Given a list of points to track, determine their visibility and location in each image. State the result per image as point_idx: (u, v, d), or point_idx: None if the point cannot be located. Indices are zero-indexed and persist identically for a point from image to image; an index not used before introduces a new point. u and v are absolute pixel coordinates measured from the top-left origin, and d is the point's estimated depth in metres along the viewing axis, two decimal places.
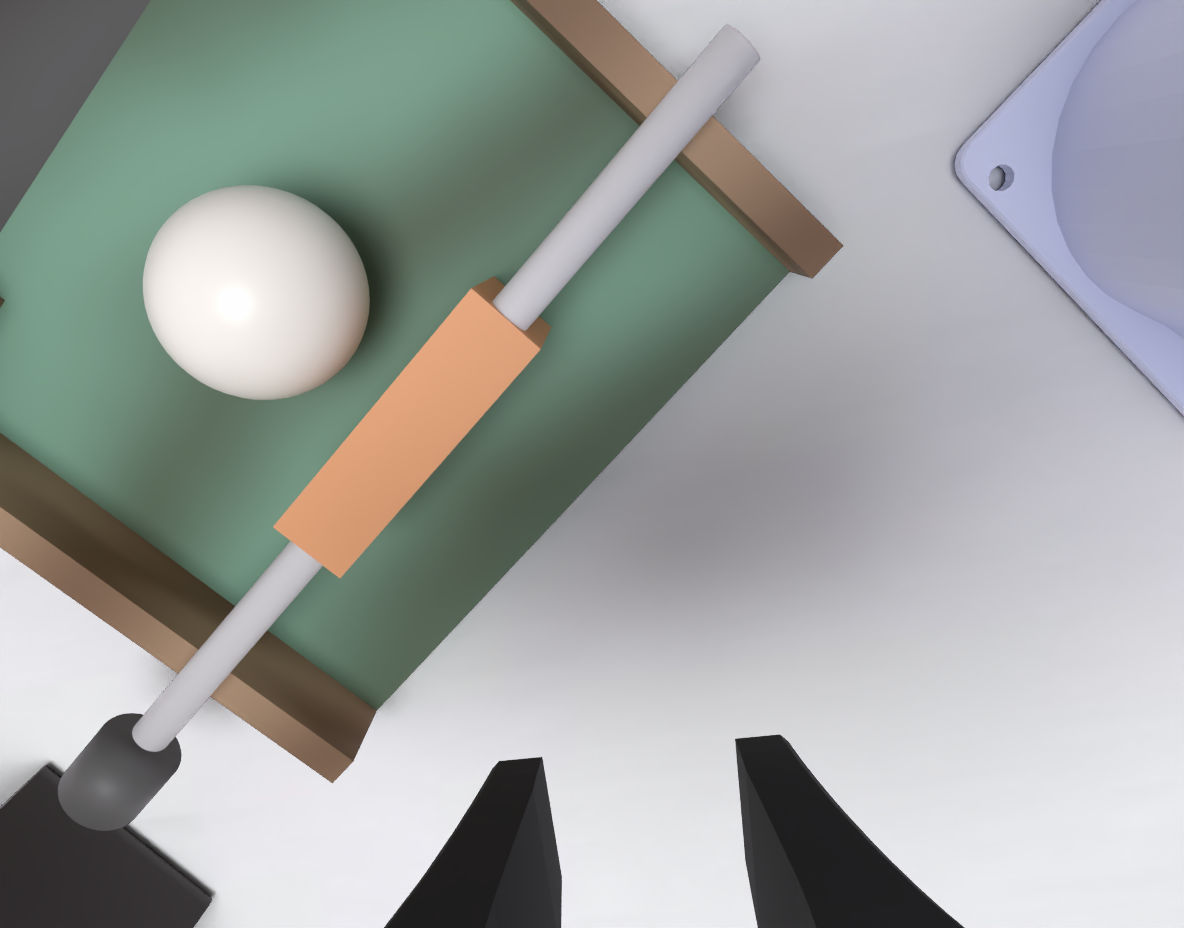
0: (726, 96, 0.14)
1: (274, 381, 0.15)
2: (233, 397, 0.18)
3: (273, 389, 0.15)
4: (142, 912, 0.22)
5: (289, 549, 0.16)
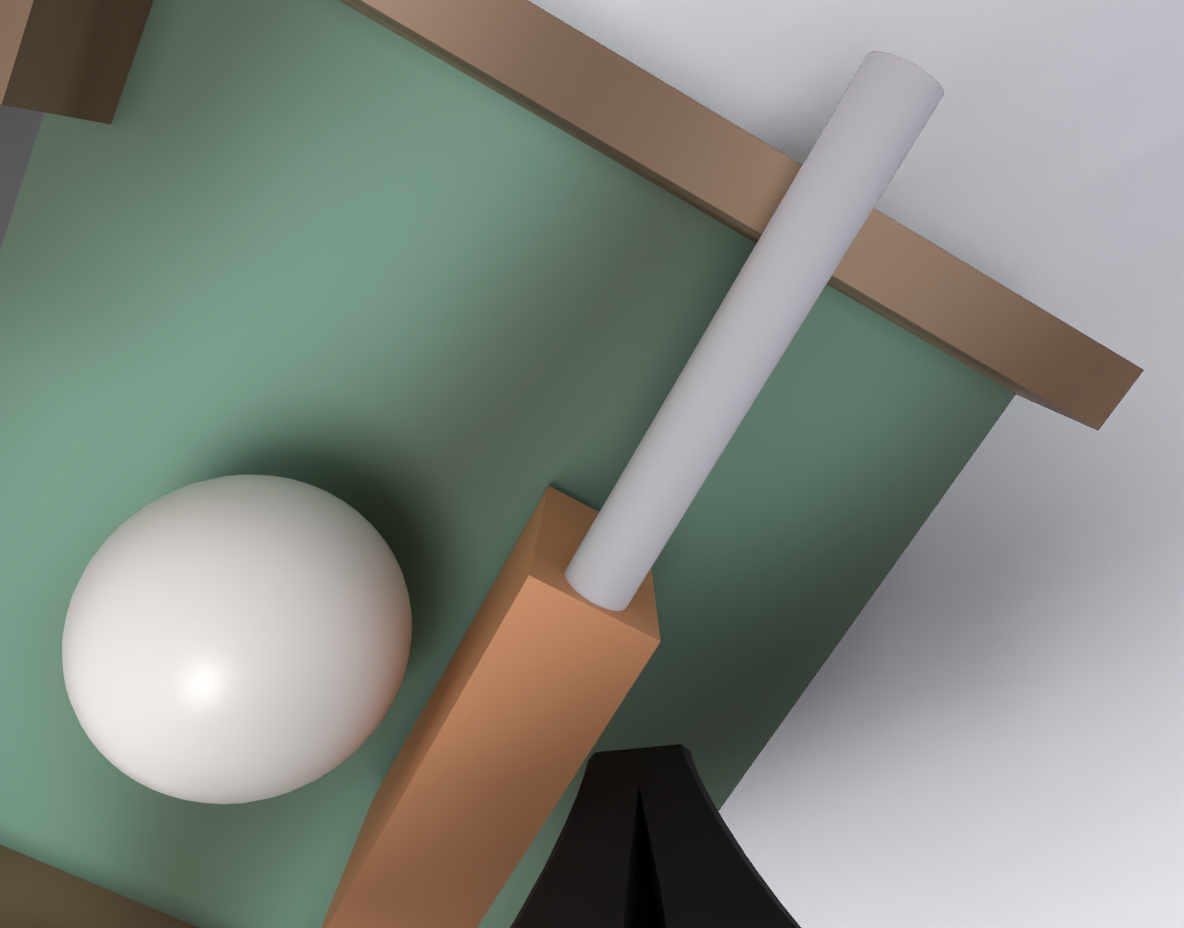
0: (894, 172, 0.08)
1: (293, 784, 0.10)
2: None
3: (296, 787, 0.10)
4: None
5: None
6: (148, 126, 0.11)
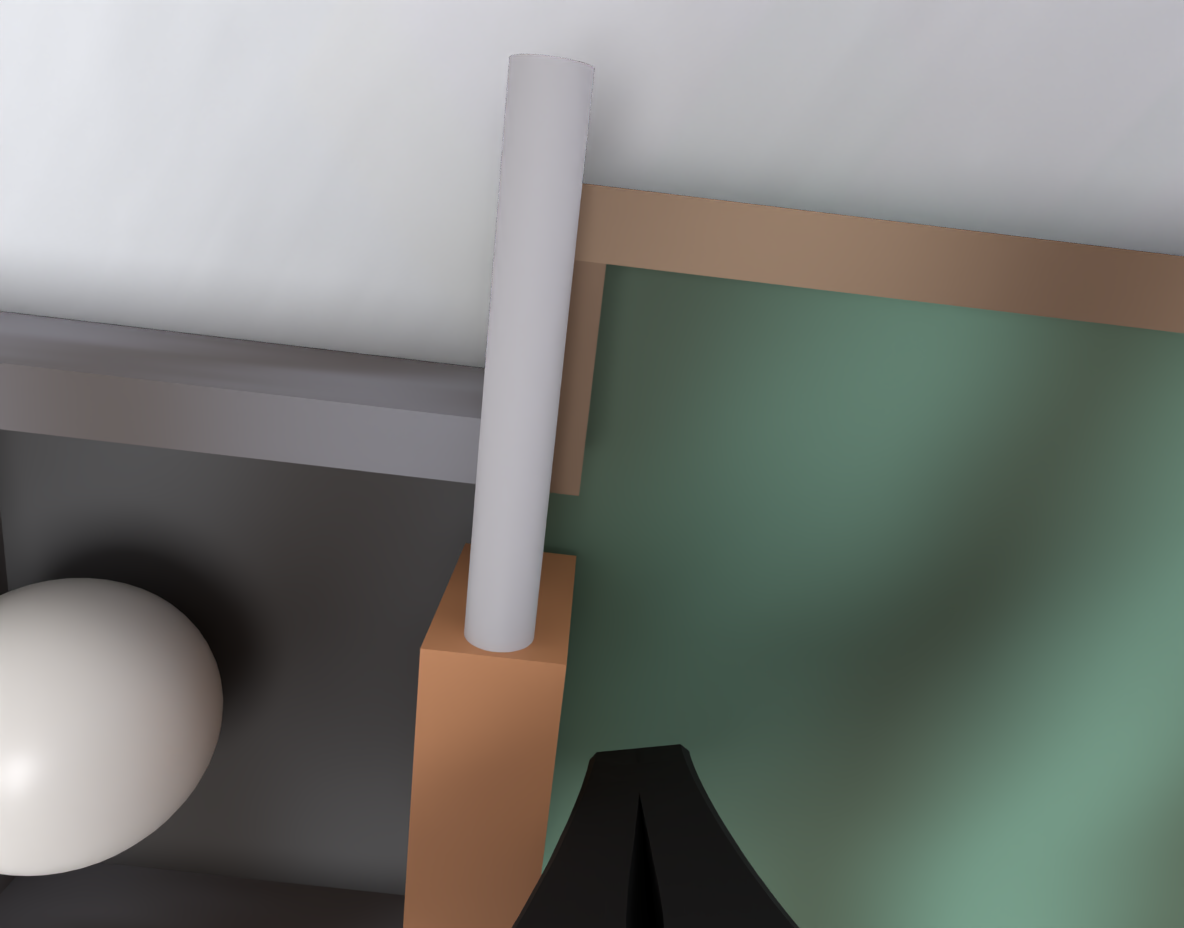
0: (582, 155, 0.08)
1: (175, 799, 0.11)
2: (823, 904, 0.14)
3: (180, 803, 0.12)
4: None
5: None
6: (615, 439, 0.12)
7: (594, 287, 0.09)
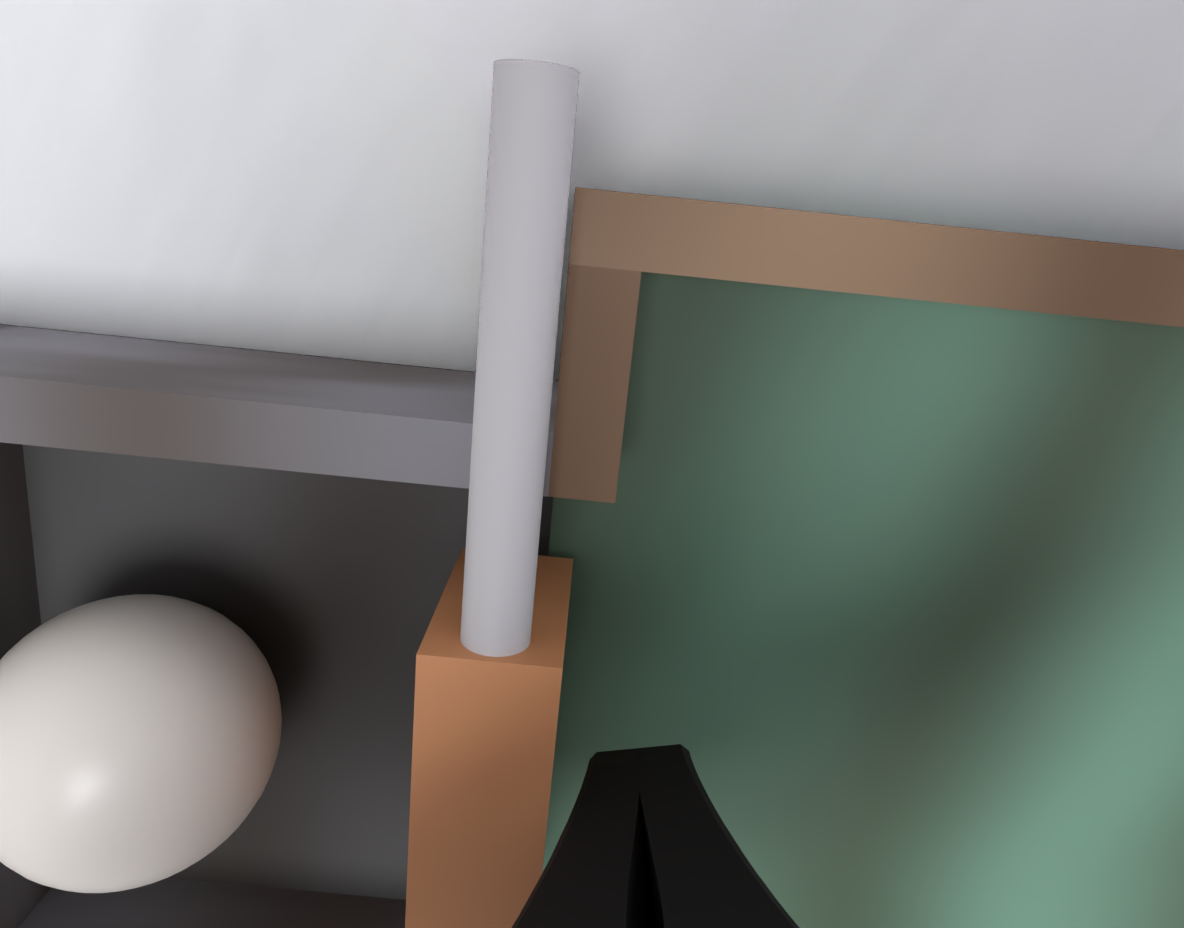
0: (568, 159, 0.08)
1: (257, 798, 0.12)
2: (857, 906, 0.14)
3: None
4: None
5: None
6: (646, 445, 0.12)
7: (629, 295, 0.09)
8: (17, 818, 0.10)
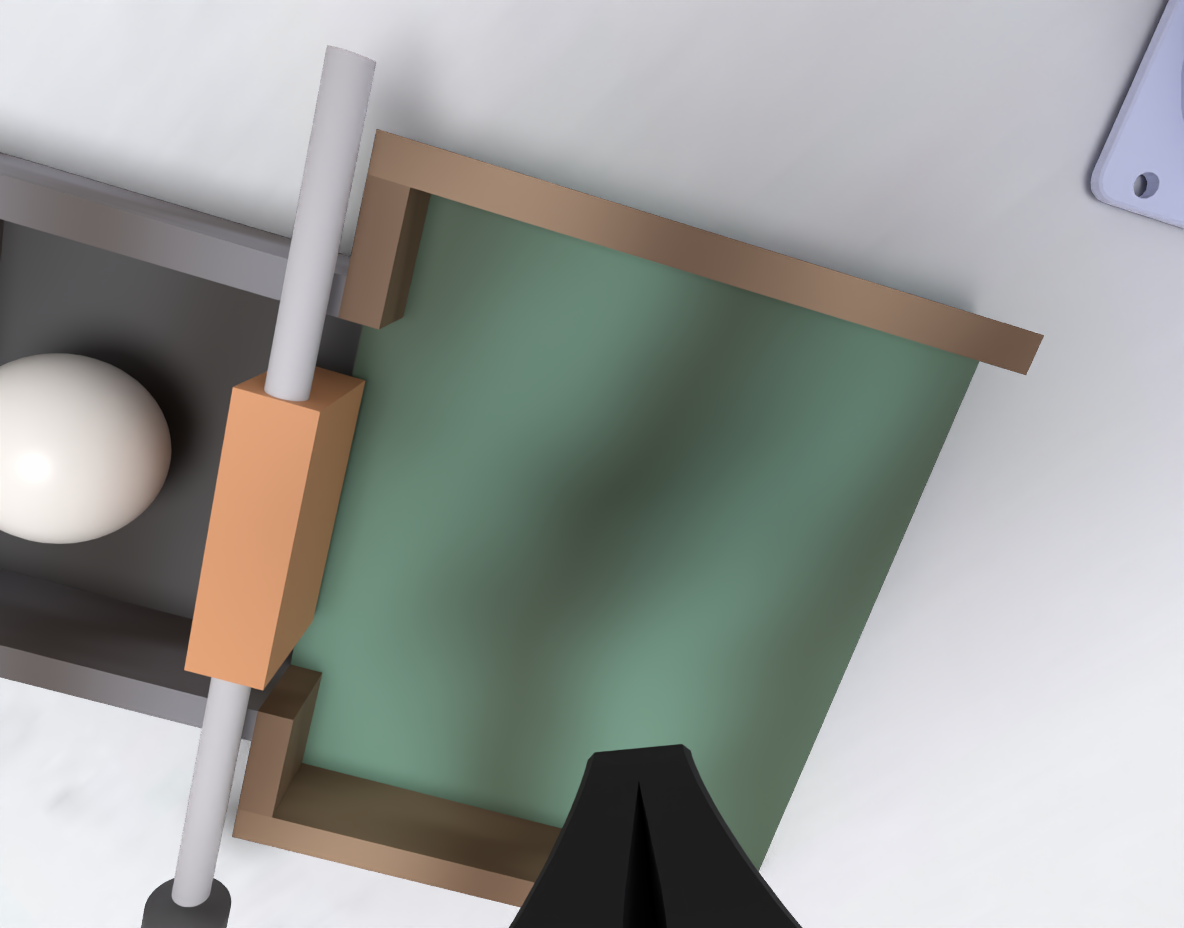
0: (362, 108, 0.14)
1: (153, 499, 0.18)
2: (533, 670, 0.20)
3: None
4: None
5: (212, 682, 0.17)
6: (425, 313, 0.18)
7: (401, 200, 0.15)
8: (7, 469, 0.16)
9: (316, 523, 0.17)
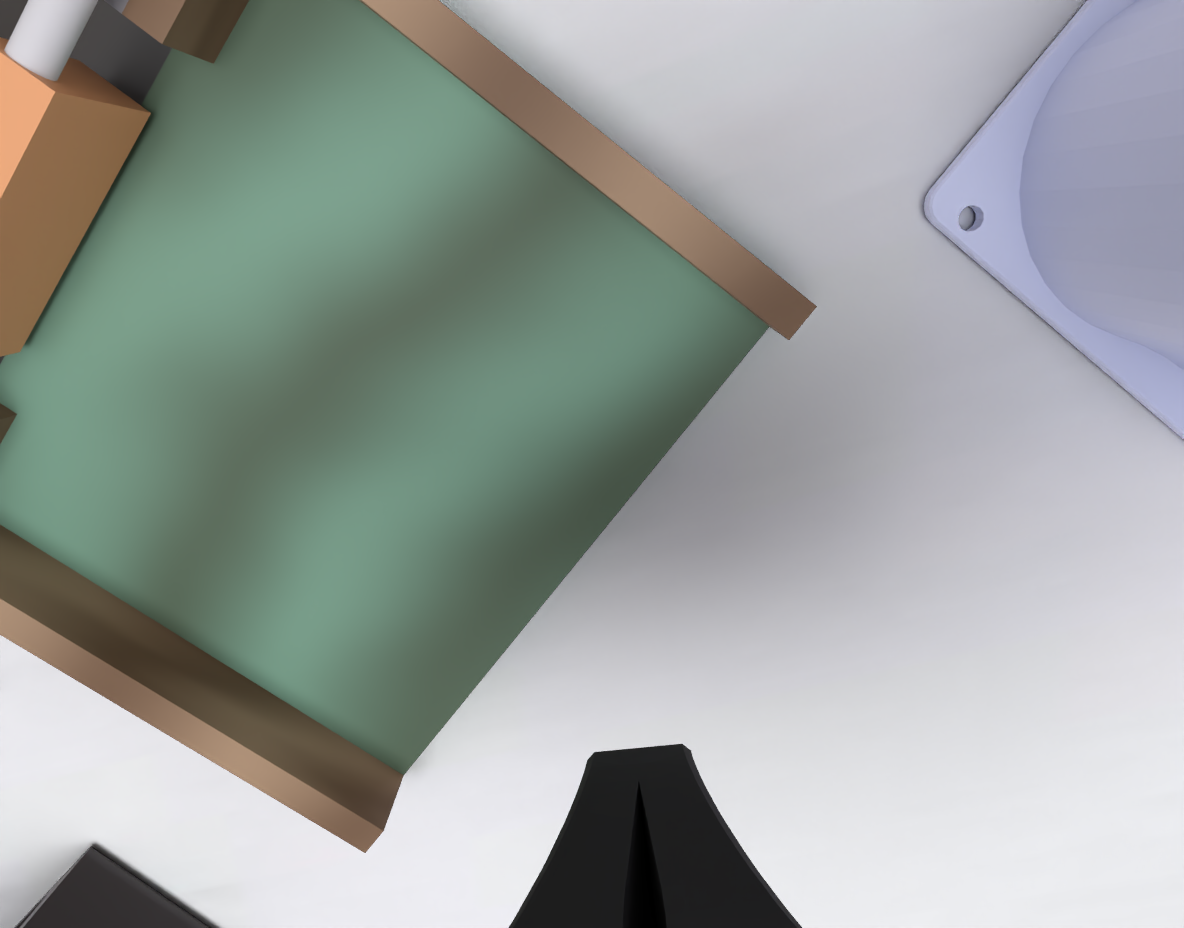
0: None
1: None
2: (241, 488, 0.19)
3: None
4: None
5: None
6: (237, 69, 0.17)
7: None
8: None
9: (36, 231, 0.16)
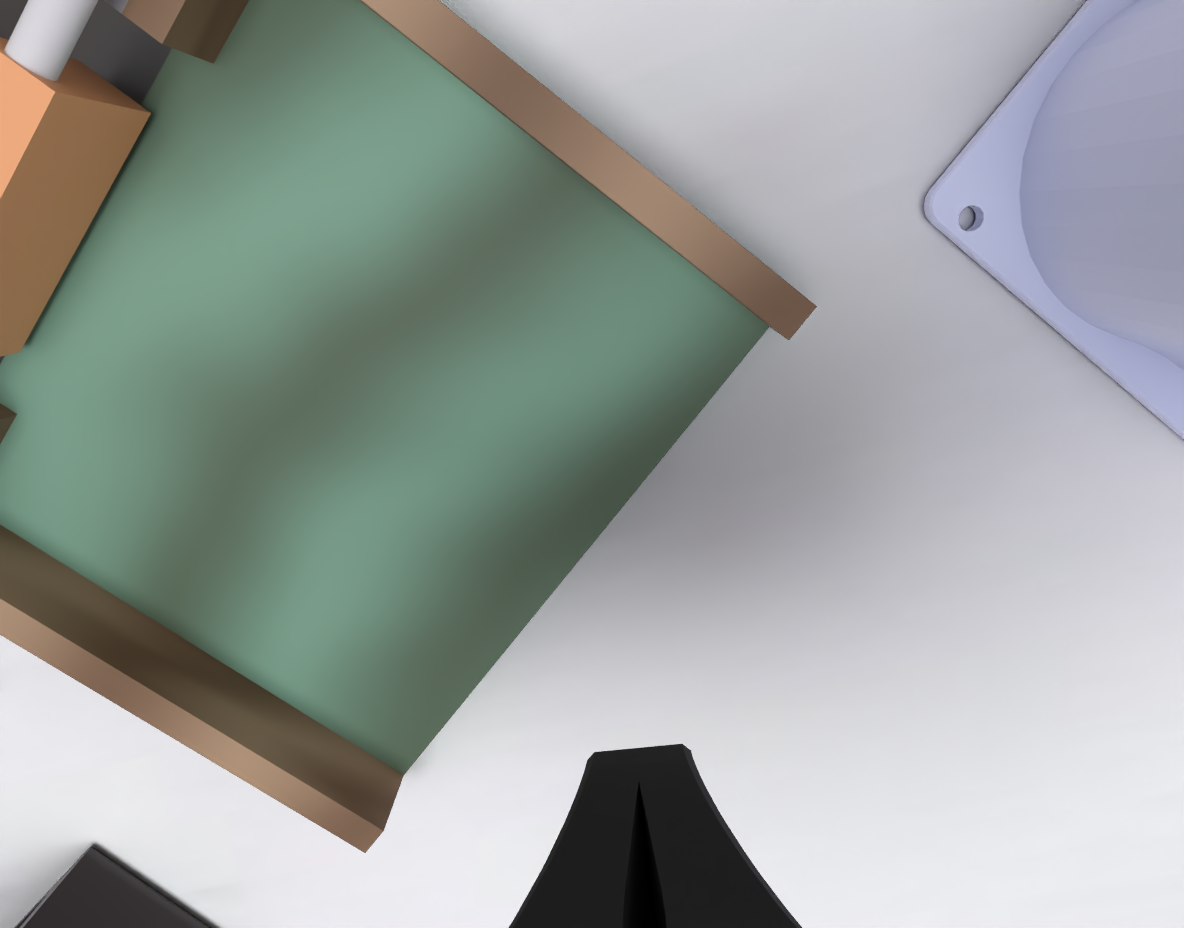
0: None
1: None
2: (241, 488, 0.19)
3: None
4: None
5: None
6: (237, 69, 0.17)
7: None
8: None
9: (36, 231, 0.16)
